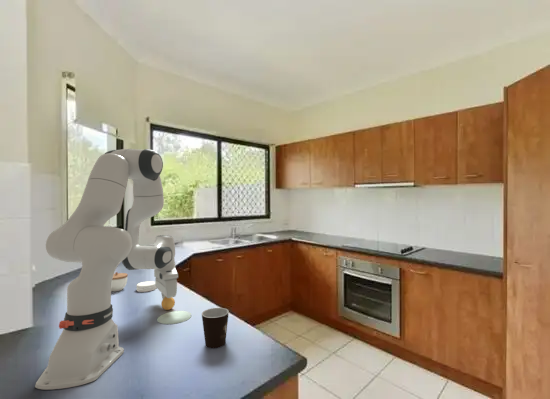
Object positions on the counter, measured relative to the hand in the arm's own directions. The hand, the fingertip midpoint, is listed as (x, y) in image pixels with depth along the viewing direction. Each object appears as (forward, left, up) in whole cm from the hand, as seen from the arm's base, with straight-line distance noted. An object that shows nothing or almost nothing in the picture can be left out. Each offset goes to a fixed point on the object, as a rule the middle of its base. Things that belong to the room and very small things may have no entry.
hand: (165, 302), depth 126 cm
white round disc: (+31, +15, -3) cm, 34 cm away
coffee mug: (-38, -23, -2) cm, 45 cm away
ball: (-4, -2, +1) cm, 4 cm away
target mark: (-13, -6, -2) cm, 15 cm away
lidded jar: (+34, +31, -2) cm, 46 cm away
